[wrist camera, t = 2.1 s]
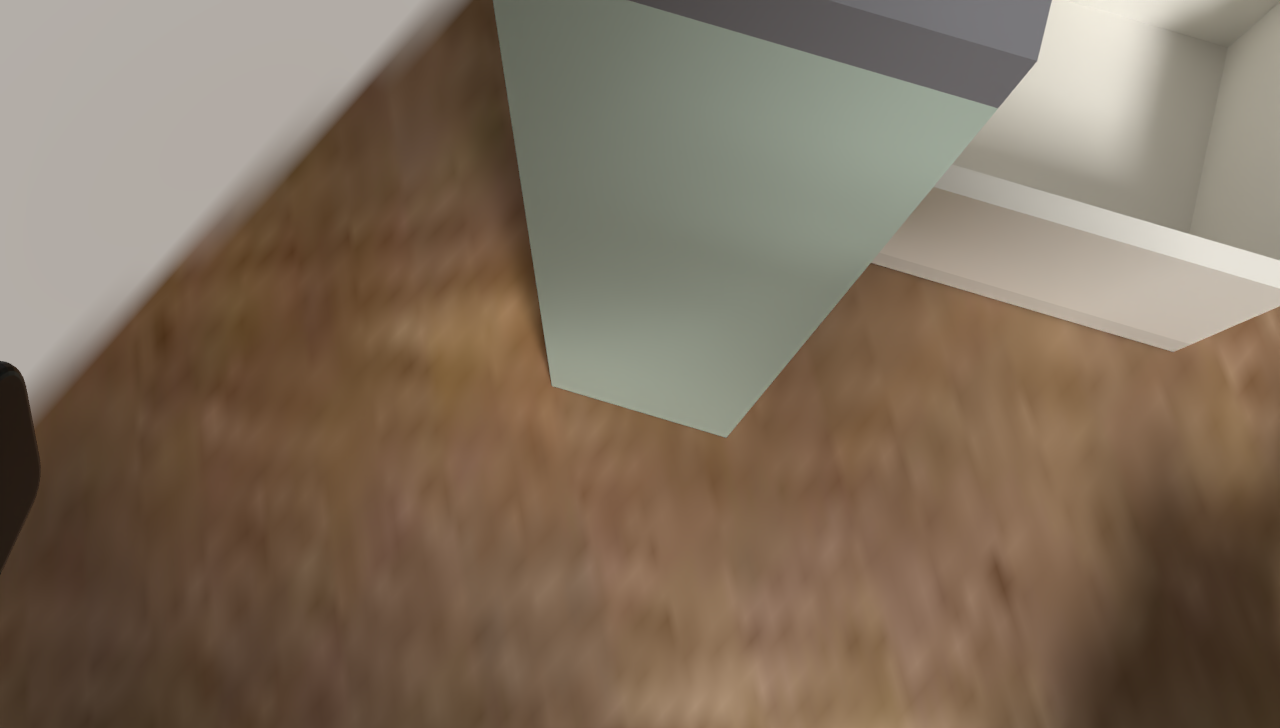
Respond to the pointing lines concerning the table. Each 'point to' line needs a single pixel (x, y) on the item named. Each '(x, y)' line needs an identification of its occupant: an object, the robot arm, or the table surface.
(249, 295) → the table surface
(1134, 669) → the table surface
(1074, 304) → the ceramic well
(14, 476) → the robot arm
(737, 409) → the sage bracket post
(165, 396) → the table surface
